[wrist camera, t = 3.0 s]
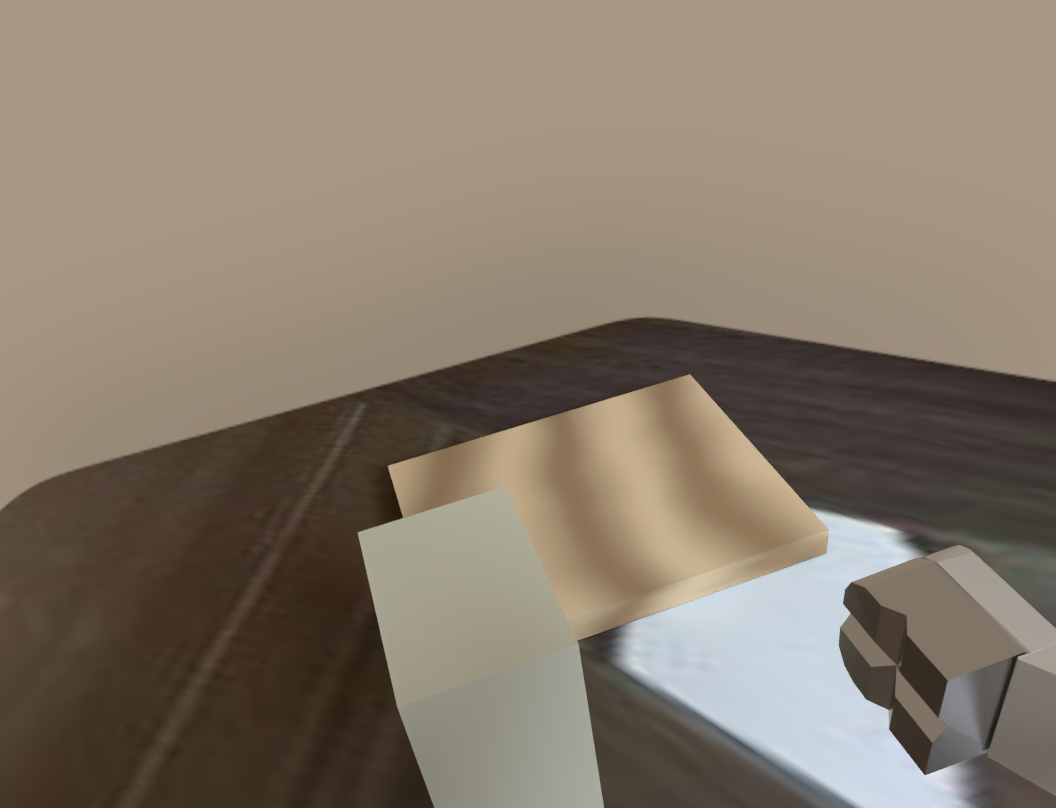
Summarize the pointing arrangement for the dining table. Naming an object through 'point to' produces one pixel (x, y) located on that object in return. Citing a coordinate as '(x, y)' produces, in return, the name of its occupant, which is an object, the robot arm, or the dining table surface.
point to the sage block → (482, 659)
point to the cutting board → (630, 501)
